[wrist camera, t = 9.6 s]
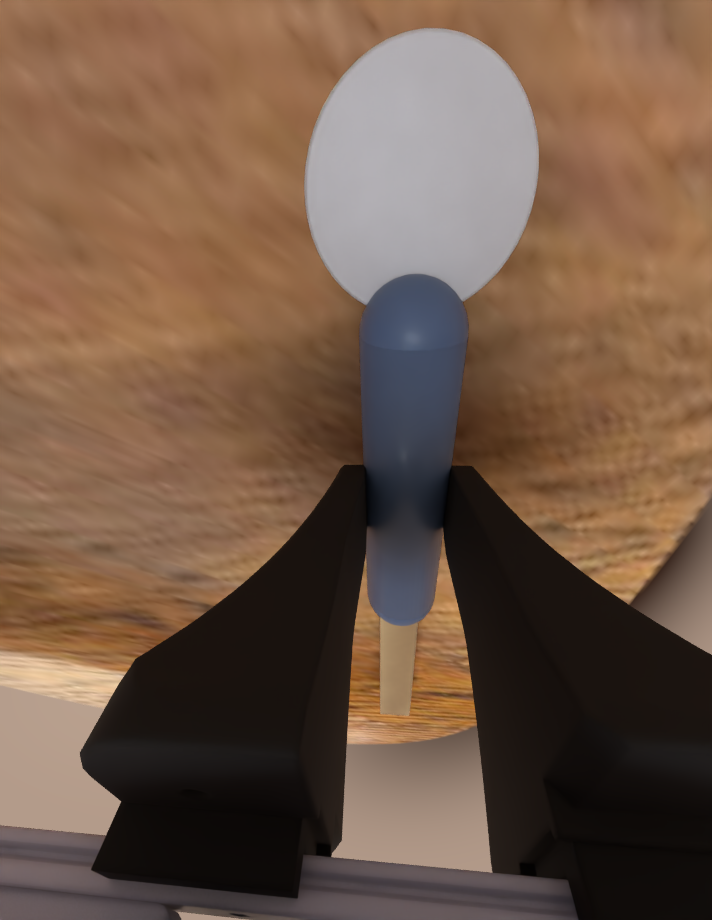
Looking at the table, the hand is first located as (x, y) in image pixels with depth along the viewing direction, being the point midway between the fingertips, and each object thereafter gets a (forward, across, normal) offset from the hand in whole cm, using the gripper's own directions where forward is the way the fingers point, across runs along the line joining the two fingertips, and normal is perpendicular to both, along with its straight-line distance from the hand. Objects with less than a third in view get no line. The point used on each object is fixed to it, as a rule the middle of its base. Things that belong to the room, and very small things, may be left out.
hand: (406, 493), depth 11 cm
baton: (+2, 0, +12) cm, 12 cm away
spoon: (+1, 0, -2) cm, 2 cm away
